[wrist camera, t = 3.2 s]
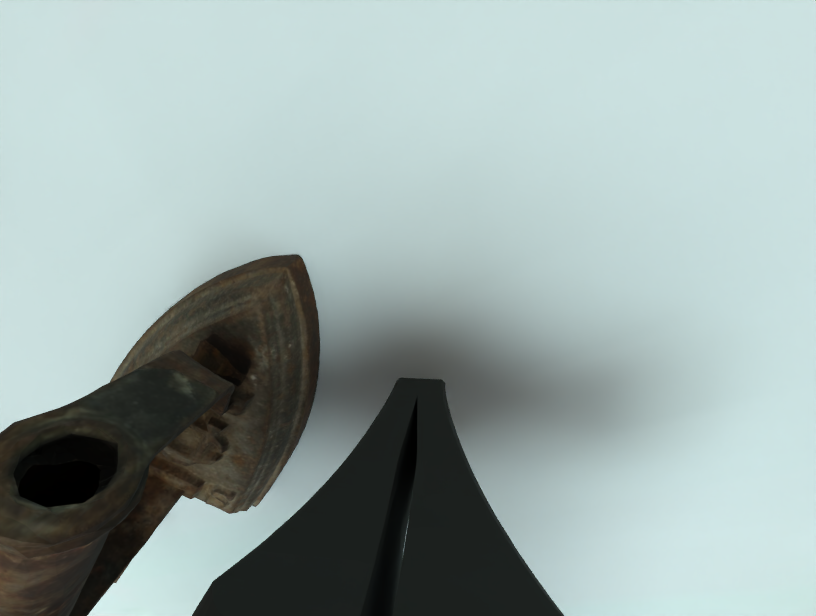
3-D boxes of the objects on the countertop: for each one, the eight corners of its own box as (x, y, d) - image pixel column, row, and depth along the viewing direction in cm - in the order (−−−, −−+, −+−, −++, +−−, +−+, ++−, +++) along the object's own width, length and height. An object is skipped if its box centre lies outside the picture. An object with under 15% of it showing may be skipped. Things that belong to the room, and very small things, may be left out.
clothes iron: (111, 417, 16) (-361, 739, 7) (233, 181, 13) (-290, 132, 4) (257, 502, 17) (27, 904, 7) (403, 296, 14) (341, 507, 4)
